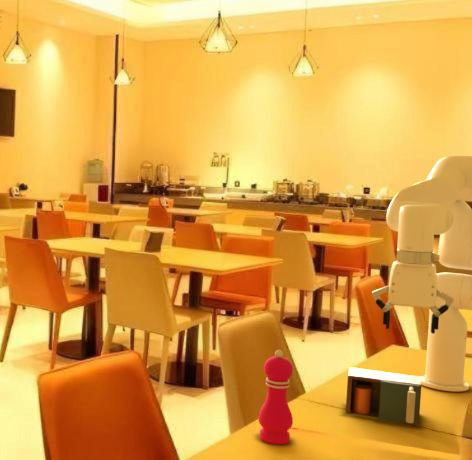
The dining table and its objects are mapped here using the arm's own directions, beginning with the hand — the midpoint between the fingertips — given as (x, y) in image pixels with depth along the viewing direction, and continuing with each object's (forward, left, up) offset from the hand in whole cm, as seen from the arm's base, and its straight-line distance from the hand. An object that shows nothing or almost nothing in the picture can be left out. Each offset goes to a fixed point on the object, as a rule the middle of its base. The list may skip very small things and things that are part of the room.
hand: (409, 330), depth 178 cm
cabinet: (-2, -5, -22) cm, 23 cm away
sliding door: (+6, -1, -22) cm, 23 cm away
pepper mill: (+27, -26, -22) cm, 44 cm away
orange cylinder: (-1, -9, -21) cm, 23 cm away
